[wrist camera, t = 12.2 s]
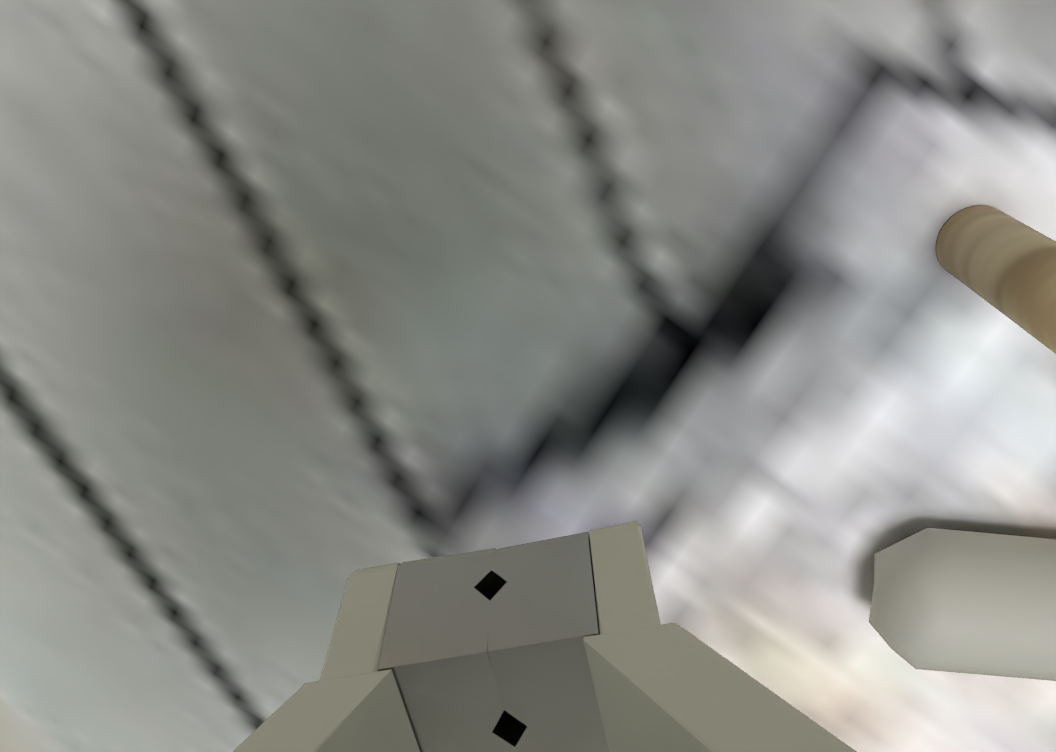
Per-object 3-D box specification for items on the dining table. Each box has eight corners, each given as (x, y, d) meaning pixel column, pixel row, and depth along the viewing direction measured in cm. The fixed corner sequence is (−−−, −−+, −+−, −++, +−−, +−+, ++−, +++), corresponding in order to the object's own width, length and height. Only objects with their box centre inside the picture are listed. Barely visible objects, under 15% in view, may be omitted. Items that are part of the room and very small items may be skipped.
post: (1010, 269, 30) (1190, 388, 22) (936, 283, 30) (1088, 406, 22) (1011, 198, 29) (1201, 295, 21) (935, 213, 29) (1093, 316, 21)
